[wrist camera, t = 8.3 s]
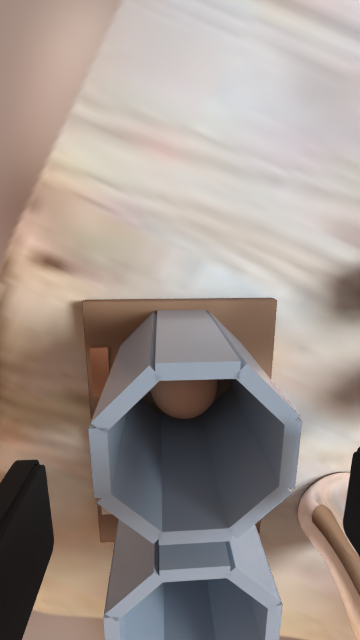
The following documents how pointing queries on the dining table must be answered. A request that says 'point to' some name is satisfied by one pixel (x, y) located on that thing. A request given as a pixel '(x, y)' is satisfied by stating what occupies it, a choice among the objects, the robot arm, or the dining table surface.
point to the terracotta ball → (184, 397)
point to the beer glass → (333, 538)
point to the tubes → (191, 486)
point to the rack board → (128, 314)
